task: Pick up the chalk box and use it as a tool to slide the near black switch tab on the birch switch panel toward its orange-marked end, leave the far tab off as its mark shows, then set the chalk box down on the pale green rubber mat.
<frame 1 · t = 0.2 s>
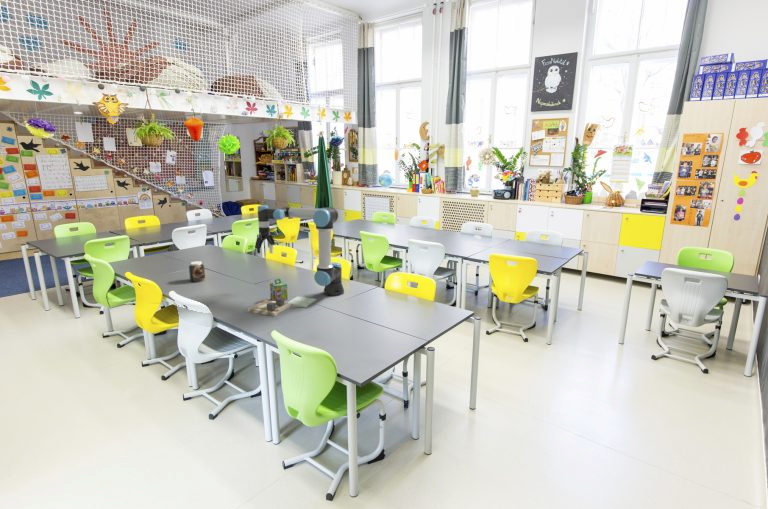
hand: (265, 255, 301), 28 cm above the table, fingers open, 13 cm apart
jar: (197, 280, 332), on the table
switch b: (271, 306, 263), point 4 cm above the table, slide at 0.0 cm
switch panel: (270, 309, 271), on the table
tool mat: (301, 302, 284), on the table
switch a: (280, 301, 273), point 4 cm above the table, slide at 0.0 cm
chalk box: (279, 299, 290), on the table
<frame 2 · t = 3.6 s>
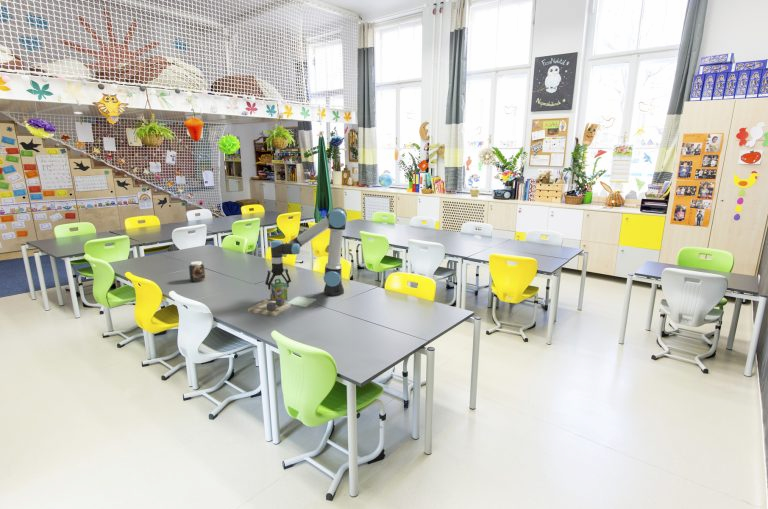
hand: (278, 292, 289), 5 cm above the table, fingers closed on chalk box, 10 cm apart
chalk box: (279, 299, 290), on the table, touching gripper
everything else where it was.
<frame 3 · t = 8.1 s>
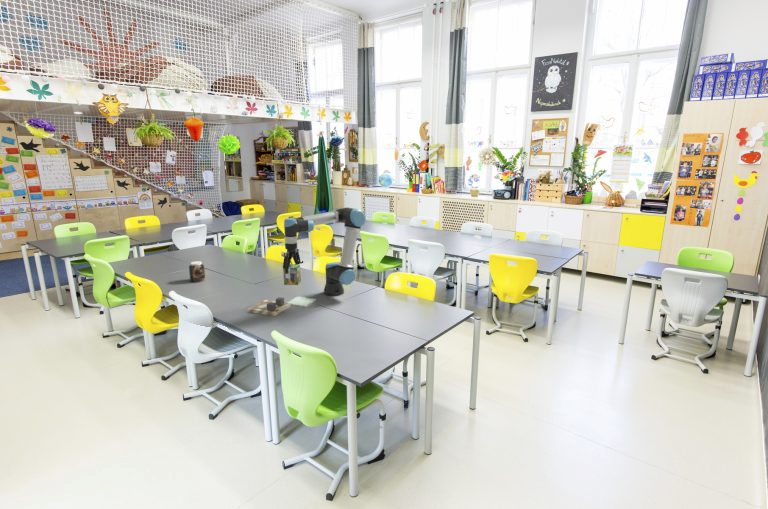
hand: (292, 276, 265), 23 cm above the table, fingers closed on chalk box, 10 cm apart
chalk box: (292, 283, 266), point 18 cm above the table, touching gripper
everything else where it was.
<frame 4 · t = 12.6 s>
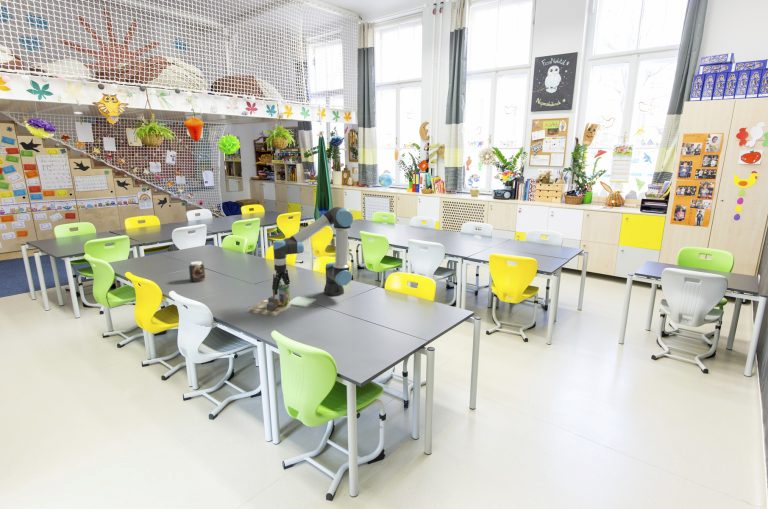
hand: (281, 296, 271), 8 cm above the table, fingers closed on chalk box, 10 cm apart
switch a: (272, 300, 274), point 4 cm above the table, slide at 5.8 cm, touching chalk box
chalk box: (282, 303, 272), point 3 cm above the table, touching gripper, switch a
everything else where it was.
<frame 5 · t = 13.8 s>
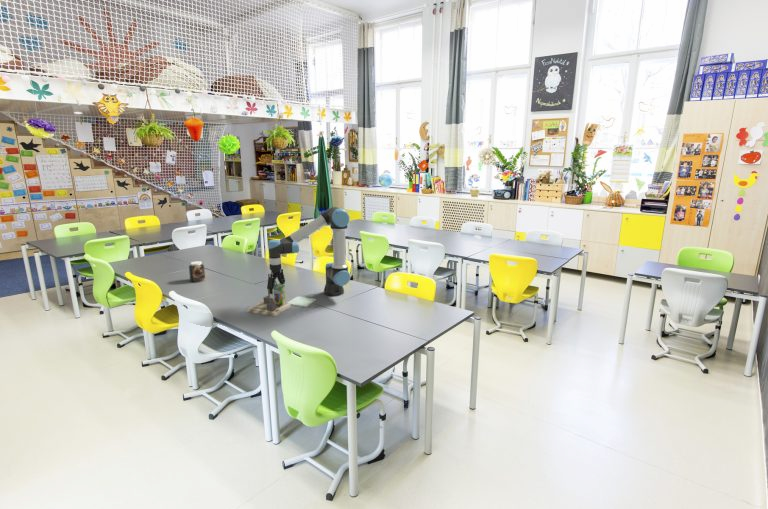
hand: (277, 295, 272), 8 cm above the table, fingers closed on chalk box, 10 cm apart
switch a: (267, 299, 276), point 4 cm above the table, slide at 9.5 cm
chalk box: (277, 302, 274), point 3 cm above the table, touching gripper
everything else where it was.
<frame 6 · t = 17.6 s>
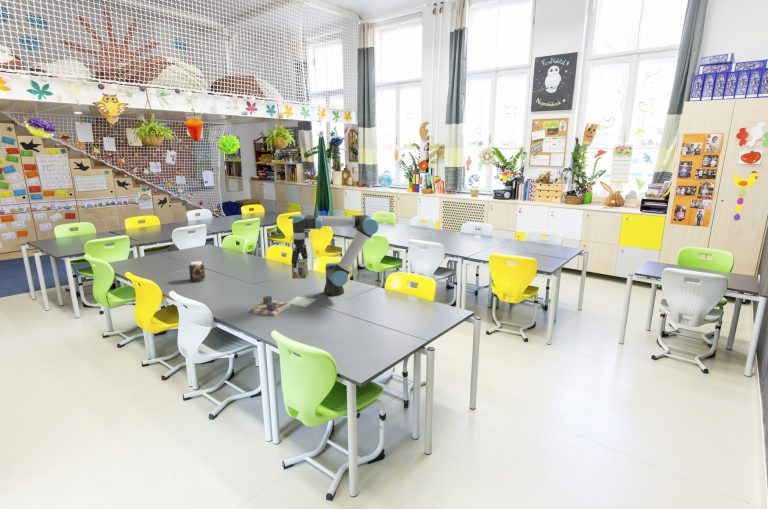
hand: (300, 270, 279), 23 cm above the table, fingers closed on chalk box, 10 cm apart
switch a: (267, 299, 276), point 4 cm above the table, slide at 9.8 cm
chalk box: (300, 277, 280), point 18 cm above the table, touching gripper
everything else where it was.
when the fingers open (7 cm above the table, at t = 21.0 s): chalk box drops 1 cm, resting on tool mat.
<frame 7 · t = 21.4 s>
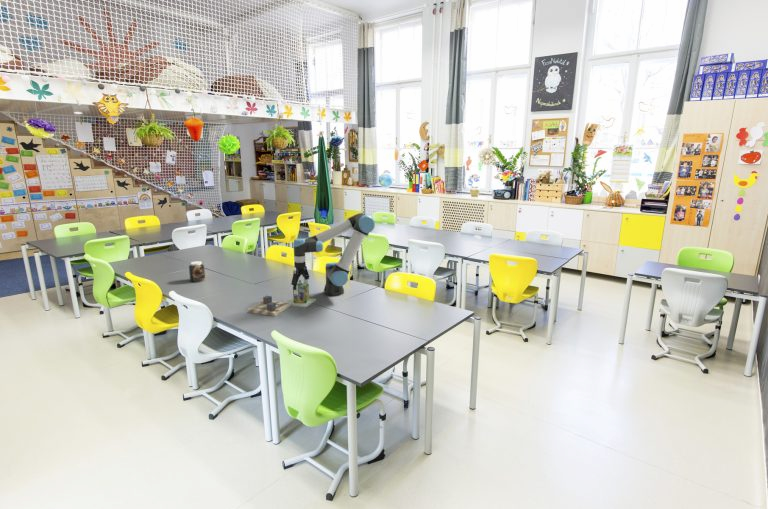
hand: (301, 291, 282), 8 cm above the table, fingers open, 13 cm apart
chalk box: (301, 301, 284), point 1 cm above the table, touching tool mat
everything else where it was.
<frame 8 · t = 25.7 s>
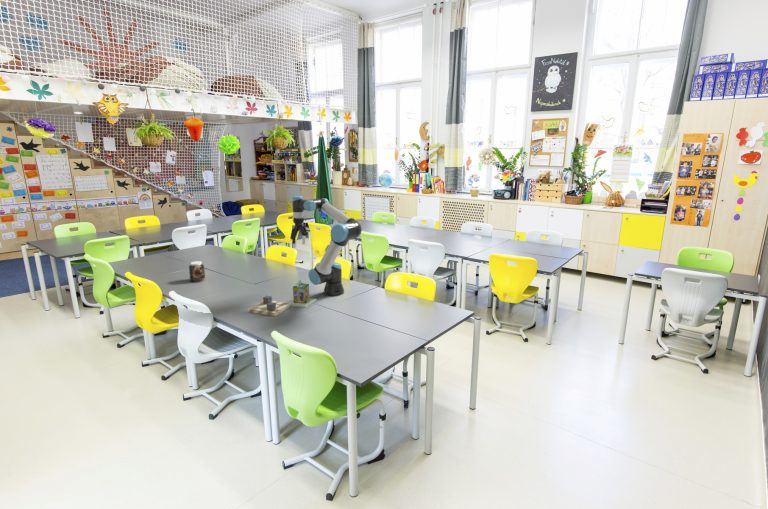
hand: (299, 246, 300), 35 cm above the table, fingers open, 13 cm apart
nothing on the table moved.
at the end: switch a slide at 9.8 cm; switch b slide at 0.0 cm; chalk box inside the target area on the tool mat (0.4 cm from its centre), point 0.8 cm above the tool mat's base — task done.
